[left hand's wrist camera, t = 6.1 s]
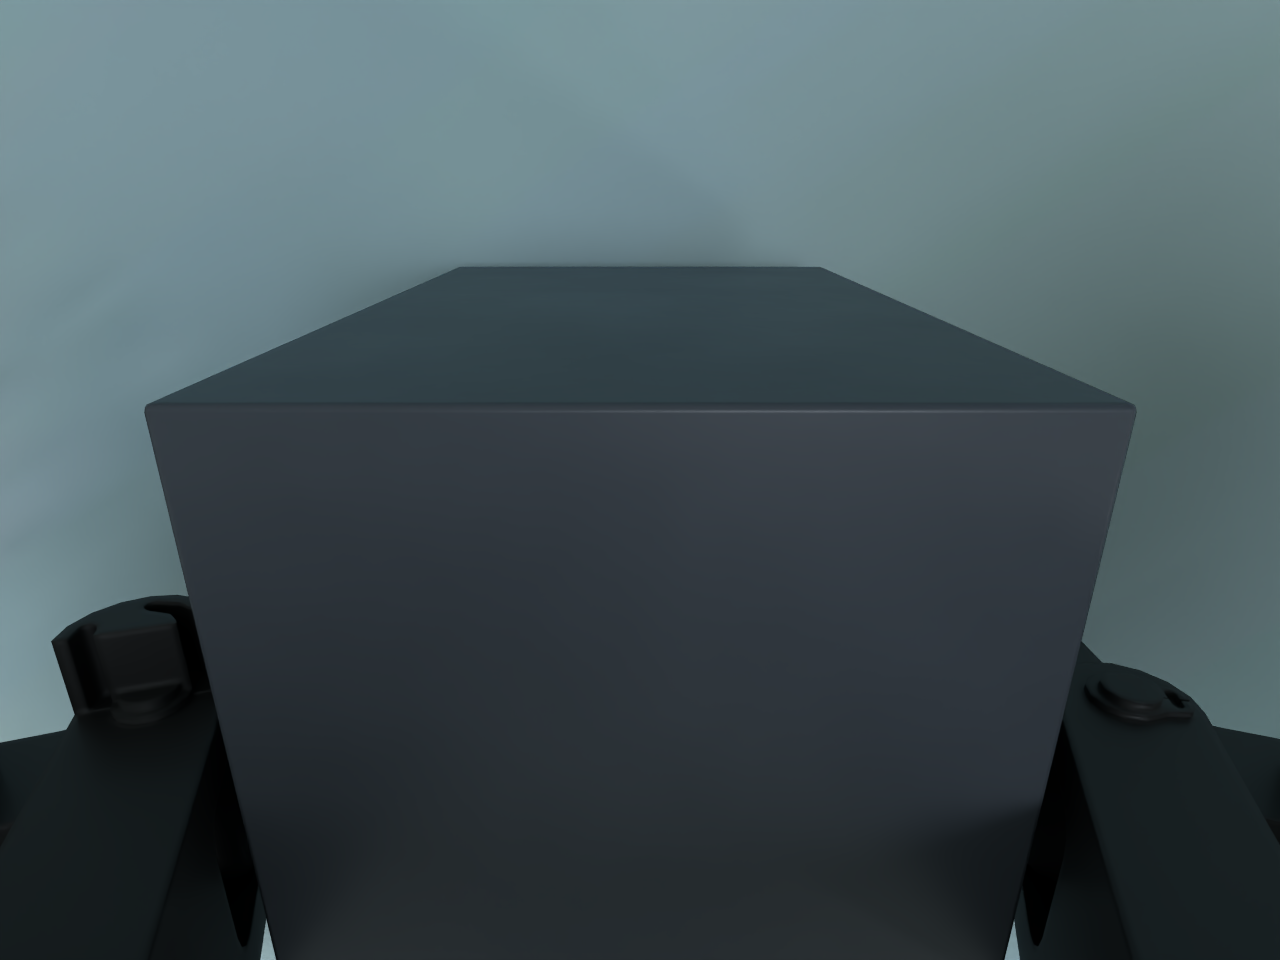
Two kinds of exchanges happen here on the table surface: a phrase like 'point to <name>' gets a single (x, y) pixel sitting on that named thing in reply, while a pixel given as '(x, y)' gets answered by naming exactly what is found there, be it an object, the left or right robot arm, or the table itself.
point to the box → (640, 615)
